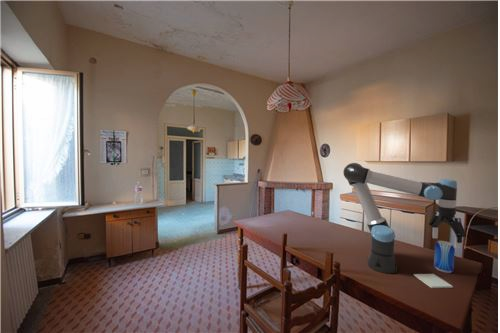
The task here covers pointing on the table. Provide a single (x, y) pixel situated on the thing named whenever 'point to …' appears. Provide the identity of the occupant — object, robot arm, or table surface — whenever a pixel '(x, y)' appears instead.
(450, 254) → the beer can
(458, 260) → the table surface
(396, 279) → the table surface
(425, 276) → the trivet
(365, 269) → the table surface
